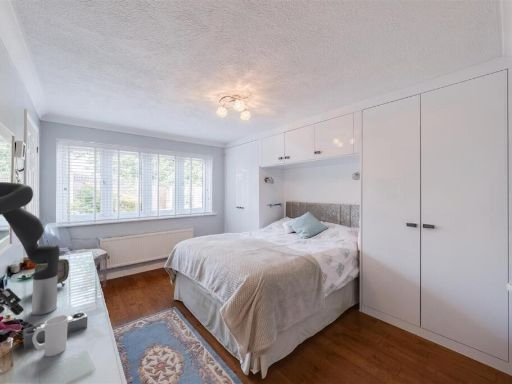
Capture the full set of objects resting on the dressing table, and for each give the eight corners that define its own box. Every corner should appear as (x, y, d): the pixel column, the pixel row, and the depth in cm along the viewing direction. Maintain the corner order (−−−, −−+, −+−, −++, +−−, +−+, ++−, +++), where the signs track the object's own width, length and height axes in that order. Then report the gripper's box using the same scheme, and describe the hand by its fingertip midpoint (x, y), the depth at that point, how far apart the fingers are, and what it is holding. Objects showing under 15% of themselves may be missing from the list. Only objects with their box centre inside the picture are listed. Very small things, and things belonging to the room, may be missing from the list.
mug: (67, 342, 94) (67, 313, 94) (67, 351, 89) (68, 320, 89) (32, 353, 87) (33, 321, 87) (30, 363, 82) (31, 330, 82)
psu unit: (22, 341, 94) (23, 328, 94) (82, 321, 109) (83, 310, 109) (24, 349, 89) (25, 336, 89) (87, 327, 105) (87, 315, 105)
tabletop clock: (43, 295, 134) (45, 251, 134) (31, 293, 136) (32, 250, 136) (68, 285, 148) (69, 246, 148) (57, 283, 150) (58, 245, 150)
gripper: (5, 268, 71) (38, 302, 79) (-28, 269, 74) (6, 302, 82) (-23, 289, 65) (15, 324, 73) (-58, 289, 68) (-19, 322, 75)
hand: (10, 312), depth 77 cm, fingers open, 8 cm apart
